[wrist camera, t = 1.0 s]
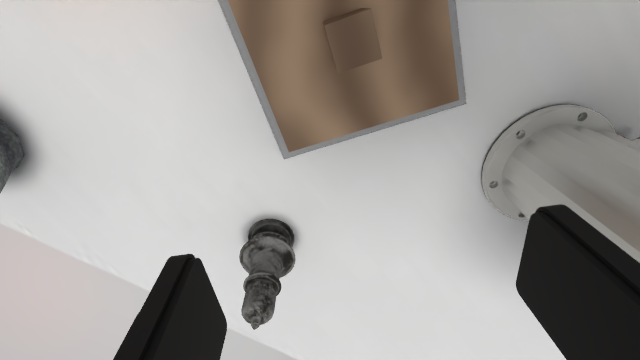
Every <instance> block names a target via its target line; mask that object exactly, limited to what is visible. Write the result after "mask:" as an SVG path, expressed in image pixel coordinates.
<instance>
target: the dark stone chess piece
mask: <svg viewBox="0 0 640 360" xmlns="http://www.w3.org/2000/svg"><path fill="white" fill-rule="evenodd" d="M248 239H249V241H248V242H247V243H246V244H245V245H244V246H243V247H242V249H241V251H240V256H239V257H240V263H241V265H242V266H243V268H244V269H245V270H246V271H247V272H248V273H249V276H248V277H247V278H246V279H245V281H244V285H243V287H244V290H245V292H246V293H245V298H244V302H243V306H242V316H243V318H244V319H245V320H246V321H247V322H248V323H250V324H251V326H252V328H253V329H254V330H255V329H257V328H258V327H259V325H261V324H265V323H266V322H268V321H269V320H270V319H271V318H272V316H273V313H274V308H275V301H276V296H277V295H278V294H279V293H280V291H281V283H280V281H279V278H280V277H283V276H285V275H286V274H288V273H289V272H290V271H291V270H292V268H293V267H294V264H295V254H294V252H293V249H292V248H291V247H292V246H293V243H294V234H293V231H292V230H291V228H290V227H289V226H288V225H287V224H285V223H284V222H281V221H279V220H274V219H265V220H261V221H259V222H257V223H255V224H254V225H253V226H252V227H251V229H250V231H249V235H248Z"/></svg>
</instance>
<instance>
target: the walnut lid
mask: <svg viewBox="0 0 640 360" xmlns="http://www.w3.org/2000/svg"><path fill="white" fill-rule="evenodd" d="M228 2H229V5H230V7H231V10H232V12H233V15H234V17H235V19H236V22H237V24H238V27H239V29H240V32H241V34H242V37H243V39H244V42H245V44H246V47H247V49H248V52H249V54H250V57H251V59H252V62H253V64H254V67H255V69H256V72H257V74H258V77H259V79H260V82H261V84H262V87H263V89H264V92H265V94H266V97H267V99H268V102H269V104H270V107H271V109H272V112H273V114H274V117H275V119H276V122H277V124H278V127H279V129H280V132H281V134H282V137H283V139H284V141H285V144H286V146H287V149H288V151H289V152H292V151H295V150H298V149H302V148H305V147H308V146H311V145H315V144H318V143H321V142H324V141H328V140H331V139H334V138H337V137H341V136H344V135H347V134H350V133H354V132H357V131H360V130H363V129H367V128H370V127H373V126H376V125H380V124H383V123H386V122H389V121H393V120H396V119H399V118H402V117H406V116H409V115H412V114H415V113H419V112H422V111H425V110H428V109H432V108H435V107H438V106H441V105H445V104H448V103H451V102H454V101H458V100H459V93H458V84H457V76H456V67H455V59H454V50H453V42H452V33H451V25H450V16H449V8H448V0H228Z"/></svg>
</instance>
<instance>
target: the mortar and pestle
mask: <svg viewBox="0 0 640 360" xmlns="http://www.w3.org/2000/svg"><path fill="white" fill-rule="evenodd" d="M23 156H24V152H23V149H22V146H21V143H20V140H19V137H18V135H17V134H16V133H14V132H13V131H12V130H11V129H10V128H9V127H8V126H7V125H6V124H5V123H4V122H3V121H2V120H1V119H0V193H1V191H2V189H3V187H4V186H5V184H6V182H7V180H8V178H9V176H10V173H11V171H12V170H13V169H15V168H17V167H18V165H19V163H20V161H21V160H22V158H23Z"/></svg>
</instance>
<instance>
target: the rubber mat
mask: <svg viewBox="0 0 640 360" xmlns="http://www.w3.org/2000/svg"><path fill="white" fill-rule="evenodd" d="M218 2H219V4H220V6H221V9H222V11H223V14H224V16H225V18H226V21H227V23H228V26H229V28H230V31H231V33H232V35H233V38H234V40H235V43H236V45H237V47H238V50H239V52H240V55H241V57H242V59H243V62H244V64H245V67H246V69H247V72H248V74H249V76H250V79H251V81H252V84H253V86H254V88H255V91H256V93H257V96H258V98H259V101H260V103H261V105H262V108H263V110H264V113H265V115H266V117H267V120H268V122H269V125H270V127H271V129H272V132H273V134H274V137H275V139H276V142H277V144H278V146H279V149H280V151H281V154H282V156H283V158H284V159H286V158H290V157H293V156H296V155H299V154H303V153H306V152H309V151H313V150H316V149H319V148H322V147H326V146H329V145H332V144H335V143H339V142H342V141H345V140H349V139H352V138H355V137H358V136H362V135H365V134H368V133H372V132H375V131H378V130H381V129H385V128H388V127H391V126H394V125H398V124H401V123H404V122H408V121H411V120H414V119H417V118H421V117H424V116H427V115H431V114H434V113H437V112H440V111H444V110H447V109H450V108H453V107H457V106H460V105H463V104H466V96H465V87H464V77H463V68H462V59H461V49H460V40H459V31H458V21H457V12H456V3H455V0H448V8H449V16H450V25H451V33H452V42H453V50H454V59H455V67H456V76H457V84H458V93H459V100H458V101H454V102H451V103H448V104H445V105H441V106H438V107H435V108H432V109H428V110H425V111H422V112H419V113H415V114H412V115H409V116H406V117H402V118H399V119H396V120H393V121H389V122H386V123H383V124H380V125H376V126H373V127H370V128H367V129H363V130H360V131H357V132H354V133H350V134H347V135H344V136H341V137H337V138H334V139H331V140H328V141H324V142H321V143H318V144H315V145H311V146H308V147H305V148H302V149H298V150H295V151H292V152H289V151H288V149H287V146H286V144H285V141H284V139H283V137H282V134H281V132H280V129H279V127H278V124H277V122H276V119H275V117H274V114H273V112H272V109H271V107H270V104H269V102H268V99H267V97H266V94H265V92H264V89H263V87H262V84H261V82H260V79H259V77H258V74H257V72H256V69H255V67H254V64H253V62H252V59H251V57H250V54H249V52H248V49H247V47H246V44H245V42H244V39H243V37H242V34H241V32H240V29H239V27H238V24H237V22H236V19H235V17H234V15H233V12H232V10H231V7H230V5H229V2H228V0H218Z"/></svg>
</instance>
